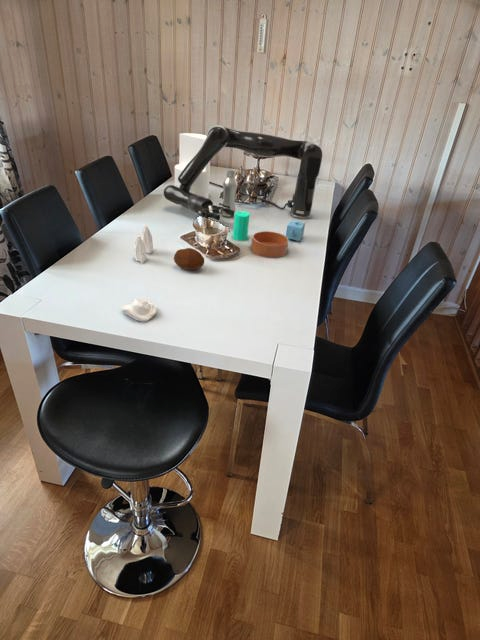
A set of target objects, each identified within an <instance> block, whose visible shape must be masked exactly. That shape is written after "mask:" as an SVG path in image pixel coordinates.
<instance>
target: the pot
mask: <svg viewBox="0 0 480 640" xmlns="http://www.w3.org/2000/svg"><path fill="white" fill-rule="evenodd" d="M289 241H290V240H288V238H287V237H286V235H285V234H282V233H280V232H277V231H269V230H263V231H257V232H255V233H253V234H252V236H251V244H250V245H251V247H250V249H251V251H252V253H254V254H256V255H258V256H260V257H262V258H263V257H264V258H271V259H273V258H275V259H276V258H281V257H285V255H287V253H288V247H289Z"/></svg>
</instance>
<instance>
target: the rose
mask: <svg viewBox="0 0 480 640" xmlns="http://www.w3.org/2000/svg"><path fill="white" fill-rule="evenodd" d="M121 309H122V311H123V312H124V314H125V315H127V316H129V317H131V318H132V319H134V320H135V321H137V322H139V323H144V322H148V321H149V320H151V319H152V318H153V317H154V316H155V315H156V314H157V311H158V309H157V308H156V307H154V303H153V302H150V301H147V300H140V299H137V298H135V299H132V300H131V302H130V304H124V305H123V306H122V307H121Z"/></svg>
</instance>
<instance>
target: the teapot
mask: <svg viewBox="0 0 480 640" xmlns="http://www.w3.org/2000/svg"><path fill="white" fill-rule="evenodd" d="M286 225H287V226H286V231H285V236H286V237H287V238H288V240H289V241H290V240H294V241H295V242H297V243H298V242H300V241H301V239H302V238H303V236H304V232H305V228H306V227H305V226H306V222H303V221H299V220H293V219H291V220H290V221H289V222H288V223H287V224H286Z"/></svg>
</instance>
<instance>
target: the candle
mask: <svg viewBox="0 0 480 640" xmlns="http://www.w3.org/2000/svg"><path fill="white" fill-rule="evenodd" d="M249 223H250V213H249V212H248V211H244V210H243V209H242V211H240V210H239V211H238V210H236V211H235V214H234V219H233V231H232V233H233V234H232V238H233V240H236V241H240V242H243V241H247V240H248V233H249Z"/></svg>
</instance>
